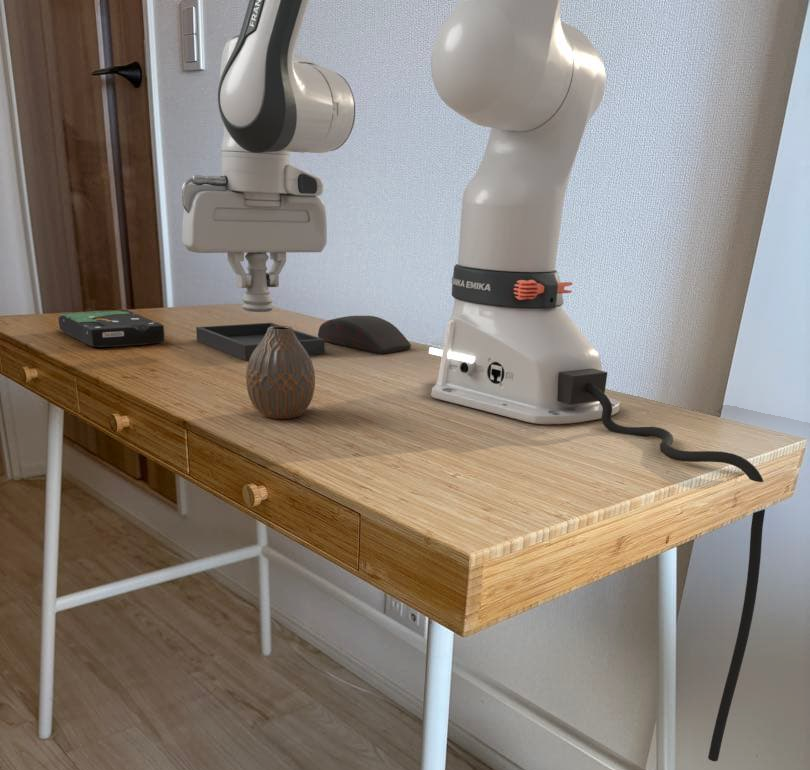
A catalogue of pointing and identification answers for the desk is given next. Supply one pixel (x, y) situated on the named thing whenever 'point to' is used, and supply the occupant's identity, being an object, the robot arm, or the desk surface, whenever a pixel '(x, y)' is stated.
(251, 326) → the tray
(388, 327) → the computer mouse
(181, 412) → the desk surface
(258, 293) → the rook chess piece
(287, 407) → the vase
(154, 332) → the disk drive
